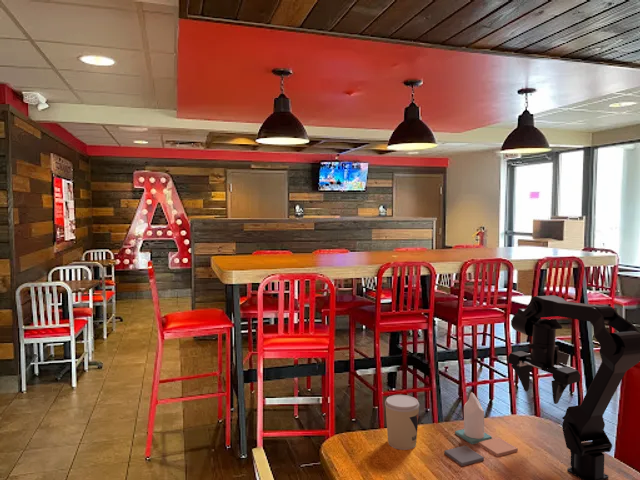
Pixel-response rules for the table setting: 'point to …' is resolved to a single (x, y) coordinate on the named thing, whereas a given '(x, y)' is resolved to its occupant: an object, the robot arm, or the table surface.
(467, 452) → the charcoal tile
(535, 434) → the table surface
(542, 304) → the robot arm
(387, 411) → the coffee cup
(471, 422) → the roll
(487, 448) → the terracotta tile
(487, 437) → the teal tile
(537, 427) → the table surface
